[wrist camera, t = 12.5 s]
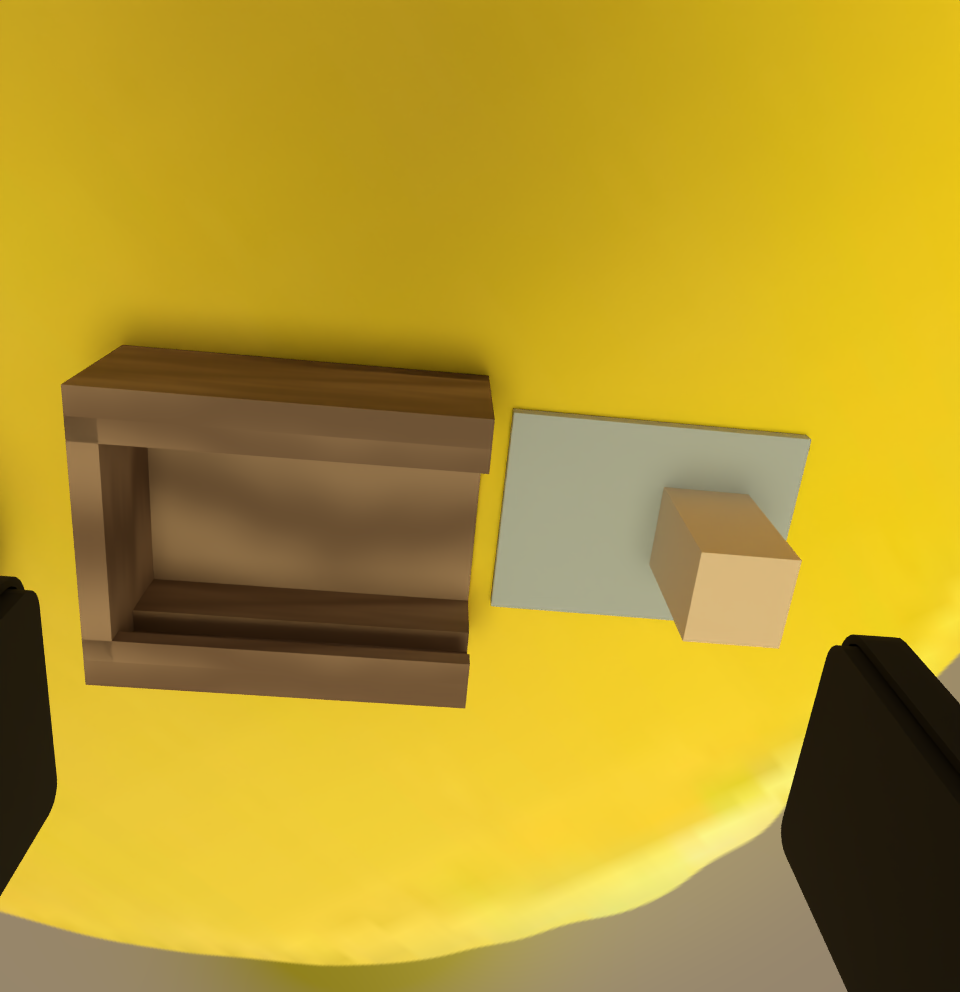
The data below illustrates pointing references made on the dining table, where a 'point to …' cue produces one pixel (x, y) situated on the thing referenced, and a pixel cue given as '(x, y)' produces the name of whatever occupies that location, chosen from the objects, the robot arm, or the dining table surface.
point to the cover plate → (651, 523)
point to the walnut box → (275, 524)
